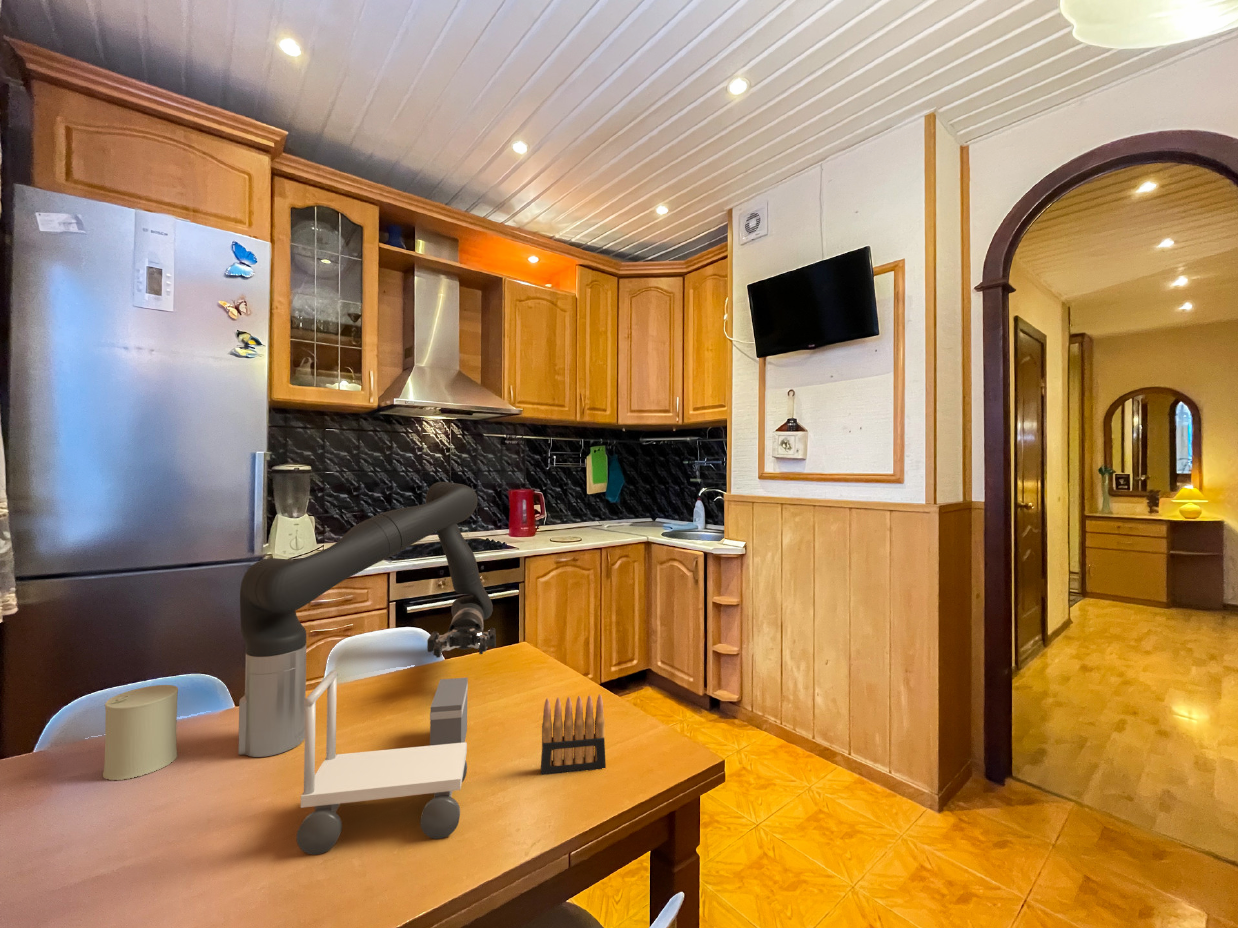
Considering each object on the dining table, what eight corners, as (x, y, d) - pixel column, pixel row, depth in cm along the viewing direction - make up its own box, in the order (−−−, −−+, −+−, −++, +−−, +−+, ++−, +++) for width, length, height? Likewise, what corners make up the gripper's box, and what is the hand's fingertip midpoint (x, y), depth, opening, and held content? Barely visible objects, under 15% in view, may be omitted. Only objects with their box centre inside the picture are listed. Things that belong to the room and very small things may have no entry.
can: (101, 765, 87) (102, 693, 87) (173, 744, 94) (174, 677, 94) (104, 788, 81) (106, 710, 81) (181, 763, 88) (182, 692, 88)
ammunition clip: (604, 762, 89) (604, 691, 89) (605, 768, 87) (606, 696, 87) (540, 768, 87) (541, 696, 87) (541, 775, 85) (541, 700, 85)
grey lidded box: (429, 767, 87) (430, 707, 87) (439, 732, 99) (440, 679, 99) (461, 764, 88) (461, 704, 88) (467, 729, 100) (467, 677, 100)
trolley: (296, 856, 67) (298, 702, 67) (329, 797, 79) (331, 667, 79) (459, 836, 71) (460, 690, 71) (467, 782, 83) (468, 658, 83)
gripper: (435, 613, 122) (423, 635, 106) (497, 609, 125) (494, 630, 109) (435, 645, 122) (423, 672, 106) (497, 640, 125) (495, 666, 109)
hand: (459, 651), depth 108 cm, fingers open, 8 cm apart
